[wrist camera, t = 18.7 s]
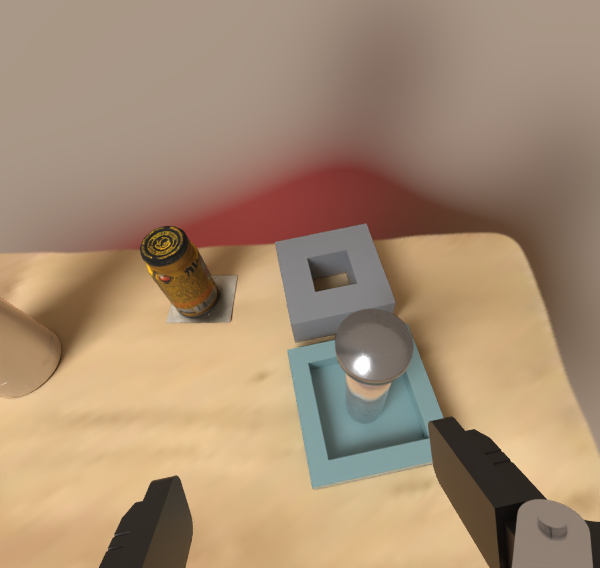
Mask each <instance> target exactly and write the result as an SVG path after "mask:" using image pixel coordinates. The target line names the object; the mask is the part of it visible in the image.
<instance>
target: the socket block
mask: <svg viewBox="0 0 600 568" xmlns="http://www.w3.org/2000/svg"><path fill="white" fill-rule="evenodd" d="M275 245H276V250H277V255H278V261H279V266H280V271H281V276H282V281H283V286H284V291H285V297H286V302H287V307H288V312H289V317H290V322H291V327H292V331H293V335H294V339H295V343H296V342H301V341H306V340H311V339H315V338H320V337H325V336H330V335H334V334H336V332H337V330H338V327H339V326H340V324H341V323H342V322H343V320H344V319H345V318H347V317H348V316H349V315H351V314H352V313H354V312H357V311H359V310H363V309H380V310H384V311H388V312H390V313H392V314H393V313H394V309H395V305H396V301H395V299H394V296H393V293H392V291H391V288H390V285H389V283H388V280H387V277H386V275H385V272H384V269H383V267H382V264H381V261H380V259H379V256H378V253H377V251H376V248H375V245H374V243H373V240H372V237H371V235H370V232H369V229H368V227H367V224H362V225H357V226H352V227H347V228H342V229H337V230H332V231H327V232H323V233H317V234H312V235H307V236H302V237H298V238H293V239H288V240H283V241H278V242H275ZM341 273H346V274H347V277H348V281H349V284H350V285H347V286H342V287H337V288H332V289H327V290H323V291H318V292H315V289H314V285H313V281H312V279H317V278H322V277H327V276H331V275H336V274H341Z"/></svg>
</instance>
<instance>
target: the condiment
mask: <svg viewBox="0 0 600 568" xmlns="http://www.w3.org/2000/svg"><path fill="white" fill-rule="evenodd" d="M140 251H141V256H142V258H143V260H144V261H145V262H146V264H147V268H148V271H149V273H150V275H151V276H152V278H153V279H154V281H155V282H156V283H157V284H158V286H159V288H160V289H161V290H162V291H163V293H164V294H165V295H166V297H167V298H168V299H169V300H170V302H171V307H170V310H169V314H168V318H167V322H166V323H202V322H206V323H218V322H230V319H231V313H232V307H233V301H234V295H235V287H236V281H237V275H221V276H217V275H215V276H211V274H210V272H209V270H208V269H207V267H206V265H205V263H204V261H203V259H202V257H201V255H200V253H199V251H198V249H197V248H196V246H195V245H194V244H193V243H191V242H190V240H189V239H188V237H187V236H186V234H185V232H184V231H183V230H181V229H179V228H177V227H174V226H164V227H160V228H158V229H155V230H153V231H151V232H150V233H149V234H148V235H147V236H146V237H145V238H144V240H143V241H142V244H141V247H140ZM218 287H219V288H220V289H222V290H220V289H219V288H218ZM208 314H209V315H208Z"/></svg>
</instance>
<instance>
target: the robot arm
mask: <svg viewBox="0 0 600 568" xmlns="http://www.w3.org/2000/svg"><path fill="white" fill-rule="evenodd" d="M60 356H61V343H60V340H59V338H58V336H57V335H56V334H55V333H53V332H52V331H50V330H49V329H47V328H46V327H44V326H43V325H41V324H40V323H38V322H37V321H35V320H34V319H33V318H31V317H30V316H28V315H27V314H25V313H24V312H22V311H21V310H19V309H18V308H16V307H15V306H13V305H12V304H10V303H9V302H7V301H6V300H4V299H3V298H1V297H0V397H3V398H16V397H21V396H23V395H26V394H28V393H30V392H32V391H34V390H35V389H37V388H38V387H40V386H41V385H42V384H43V383H45V381H46V380H47V379H48V378H49V377H50V376H51V375H52V373H53V372H54V370H55V369H56V367H57V365H58V363H59V360H60ZM428 431H429V438H430V446H431V454H432V462H433V467H434V470H435V474H436V476H437V479H438V481H439V483H440V485H441V487H442V488H443V490H444V492H445V493H446V495H447V497H448V499H449V500H450V502H451V504H452V505H453V507H454V509H455V510H456V512H457V514H458V515H459V517H460V519H461V520H462V522H463V524H464V525H465V527H466V529H467V530H468V532H469V534H470V535H471V537H472V539H473V540H474V542H475V544H476V545H477V547H478V549H479V550H480V552H481V554H482V555H483V557H484V559H485V560H486V562H487V564H488V565H489V567H490V568H600V522H594V521H587V520H584V519H583V518H582V517H581V516H580V515H579V514H578V513H576V512H575V511H574V510H572V509H571V508H569V507H567V506H565V505H563V504H561V503H558V502H555V501H551V500H547V499H546V498H545V497H544V496H543V495H542V494H541V492H540V491H539V490H538V489H537V488H536V487H535V486H534V485H533V484H532V483H531V482H530V481H529V479H528V478H527V477H526V476H525V475H524V474H523V473H522V472H521V471H520V470H519V469H518V468H517V467H516V465H515V464H514V463H513V462H511V461H510V459H509V458H508V457H507V456H506V455H505V454H504V452H502V451H501V449H500V448H499V447H498V446H497V445H496V444H495V443H494V442H493V441H492V439H491V438H489V437H488V436H486V435H484V434H482V433H480V432H478V431H477V430H475V429H473V430H468V431H465V430H464V429H463V428H462V427H461V425H460V424H459V423H458V422H457V421H456V419H455V418H454V417H452V416H451V417H446V418H442V419H437V420H433V421H429V422H428ZM114 535H115V537H114V538H113V539H112V541H111V543H110V545H109V547H108V551H107V552H106V553H105V556H104V558H103V560H102V562H101V564H100V566H99V568H185V567H186V563H187V558H188V554H189V550H190V545H191V541H192V535H193V523H192V517H191V513H190V510H189V506H188V503H187V500H186V497H185V493H184V490H183V487H182V484H181V480H180V478H179V477H178V476H172V477H168V478H163V479H158V480H154V481H152V482H151V483H150V485H149V488H148V490H147V492H146V495H145V497H144V499H143V501H141V502H136V503H135V504H134V505H133V506H132V507H131V508H130V509H129V511H128V512H127V513H126V514H125V515H124V516H123V518H122V519H121V521H120V524H119V526H118V528H117V530H116V532H115V534H114Z"/></svg>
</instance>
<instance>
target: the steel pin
mask: <svg viewBox="0 0 600 568" xmlns="http://www.w3.org/2000/svg"><path fill="white" fill-rule="evenodd" d="M413 349H414V347H413V338H412V335H411V333H410V331H409V329H408V327H407V326H406V325H405V323H404V322H403V321H402V320H401V319H400V318H398V317H397V316H395V315H394V314H392V313H390V312H388V311H384V310H380V309H363V310H359V311H357V312H354V313H352V314H351V315H349V316H348V317H347V318H345V319H344V320H343V322H342V323H341V324H340V326H339V327H338V330H337V332H336V336H335V353H336V358H337V361H338V363H339V365H340V367H341V368H342V370H343V371H344V372H345V373H346V394H345V405H346V410H347V412H348V414H349V416H350V417H351V418H352V419H353V420H355V421H356V422H359V423H362V424H368V423H372V422H374V421H376V420H377V419H378V418H379V417H380V415H381V413H382V410H383V407H384V404H385V401H386V398H387V395H388V391H389V388H390V385H391V382H393V381H395V380H397V379H398V378H399V377H400V376H402V374H403V373H404V372H405V371H406V369H407V368H408V365H409V363H410V360H411V358H412V355H413Z"/></svg>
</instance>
